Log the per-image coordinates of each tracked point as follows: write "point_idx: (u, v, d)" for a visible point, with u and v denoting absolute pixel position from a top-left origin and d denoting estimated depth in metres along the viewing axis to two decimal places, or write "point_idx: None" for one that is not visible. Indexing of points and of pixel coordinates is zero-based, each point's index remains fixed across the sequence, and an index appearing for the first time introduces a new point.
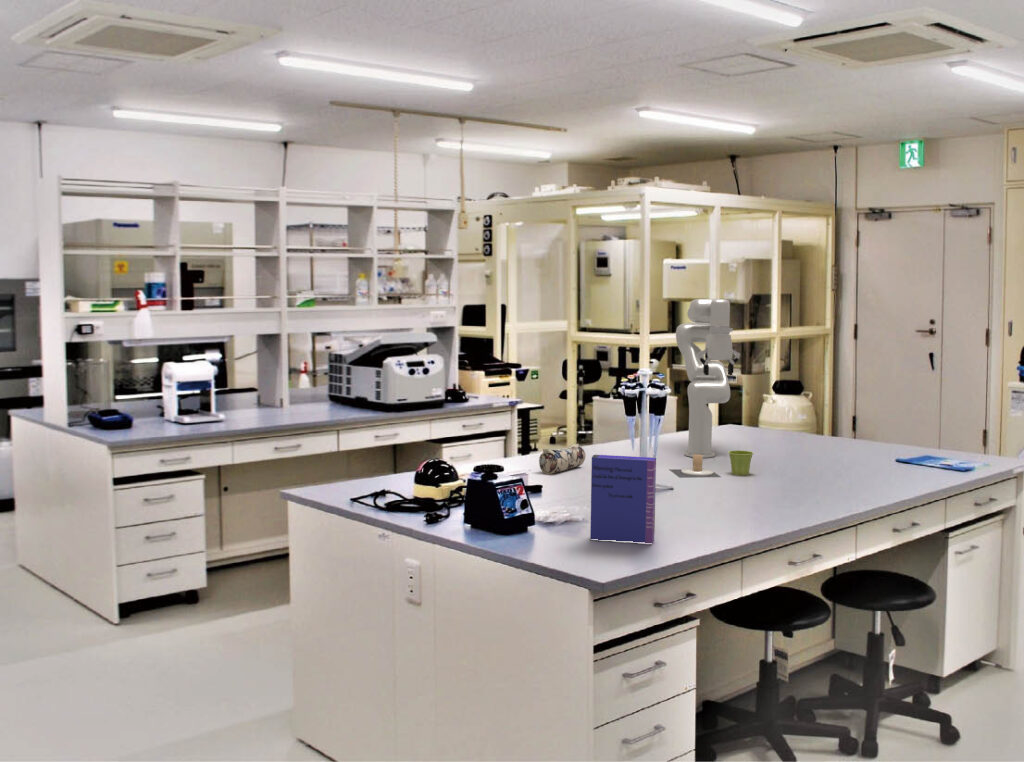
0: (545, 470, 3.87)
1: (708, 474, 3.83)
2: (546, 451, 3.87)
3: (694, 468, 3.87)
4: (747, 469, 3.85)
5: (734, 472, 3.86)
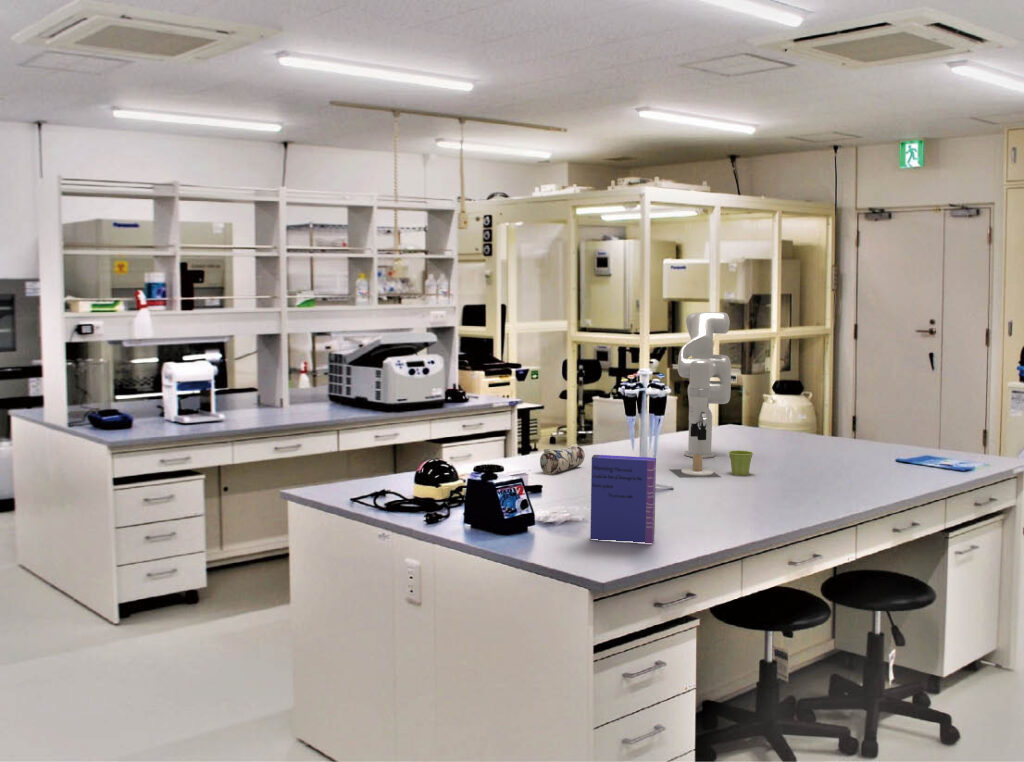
0: (546, 470, 3.86)
1: (708, 474, 3.83)
2: (547, 451, 3.86)
3: (694, 468, 3.87)
4: (747, 469, 3.85)
5: (734, 472, 3.86)
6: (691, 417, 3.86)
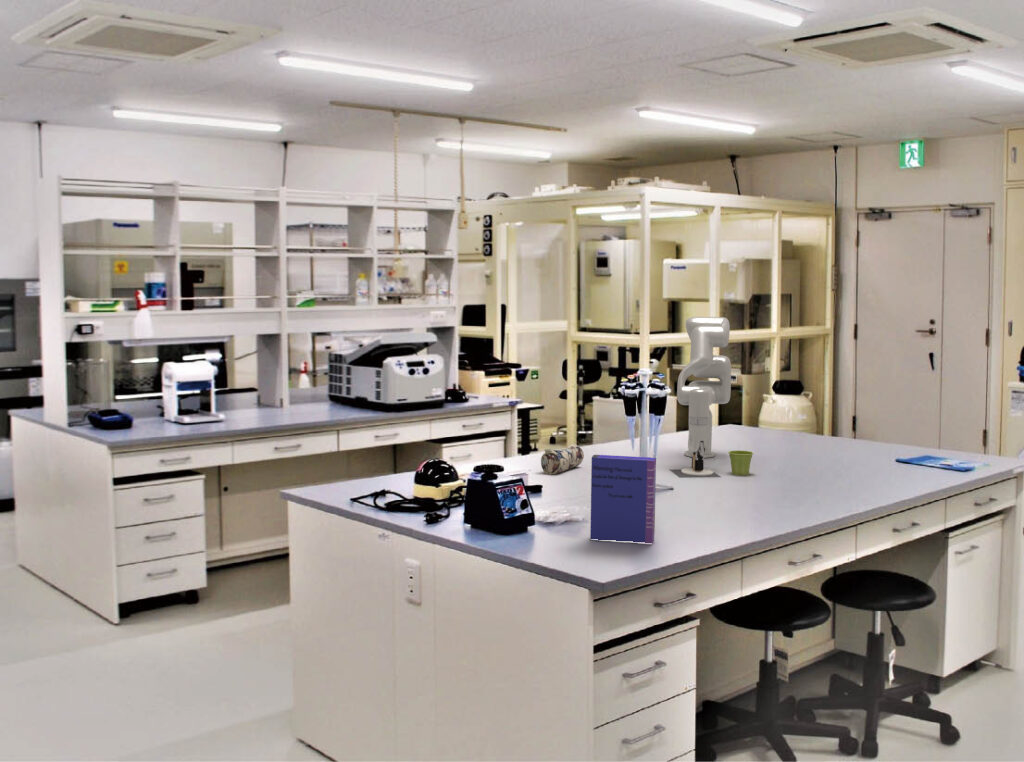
0: (547, 470, 3.86)
1: (708, 474, 3.83)
2: (548, 451, 3.86)
3: (694, 468, 3.87)
4: (747, 469, 3.85)
5: (734, 472, 3.86)
6: (690, 445, 3.87)
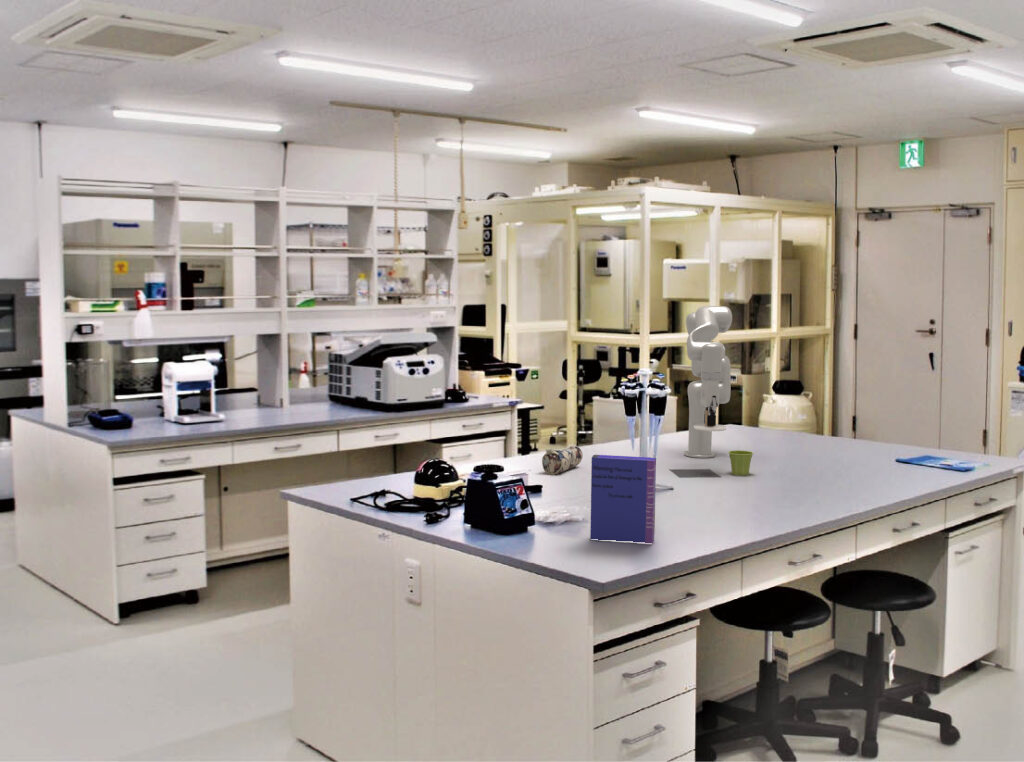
0: (549, 471, 3.86)
1: (720, 429, 3.82)
2: (550, 452, 3.86)
3: (706, 423, 3.85)
4: (747, 469, 3.85)
5: (734, 472, 3.86)
6: (703, 401, 3.85)
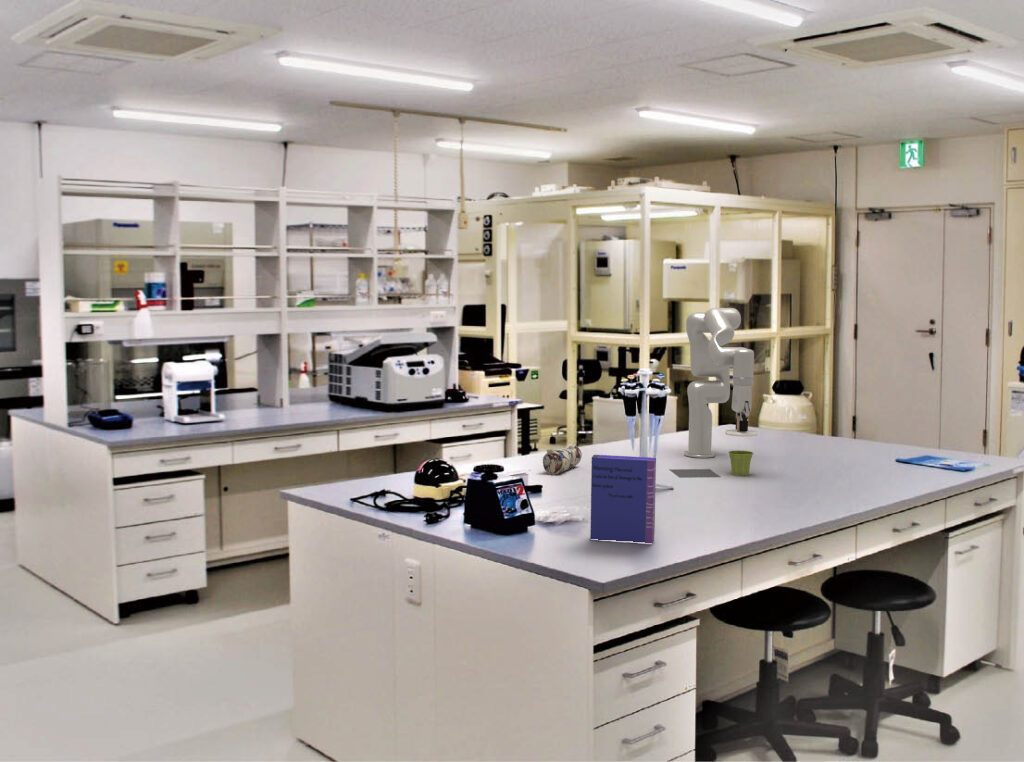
0: (550, 471, 3.85)
1: (753, 434, 3.81)
2: (550, 452, 3.85)
3: (738, 429, 3.85)
4: (747, 469, 3.85)
5: (734, 472, 3.86)
6: (735, 406, 3.85)
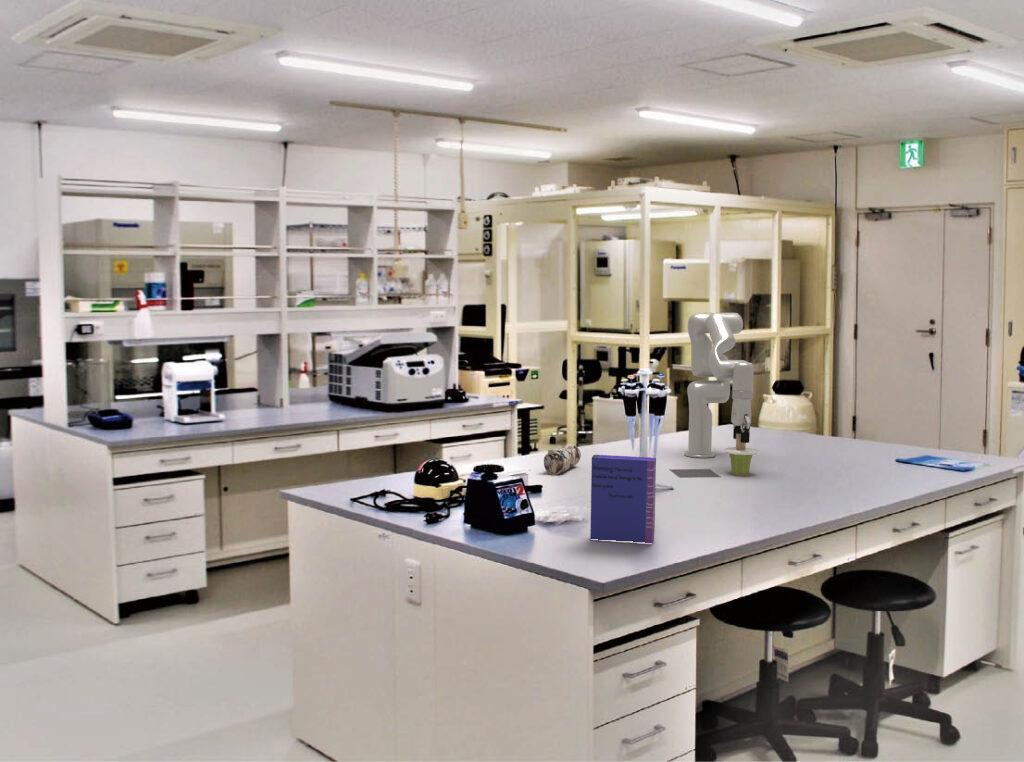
0: (551, 471, 3.85)
1: (752, 453, 3.82)
2: (551, 452, 3.85)
3: (737, 447, 3.86)
4: (747, 469, 3.85)
5: (734, 472, 3.86)
6: (734, 419, 3.86)
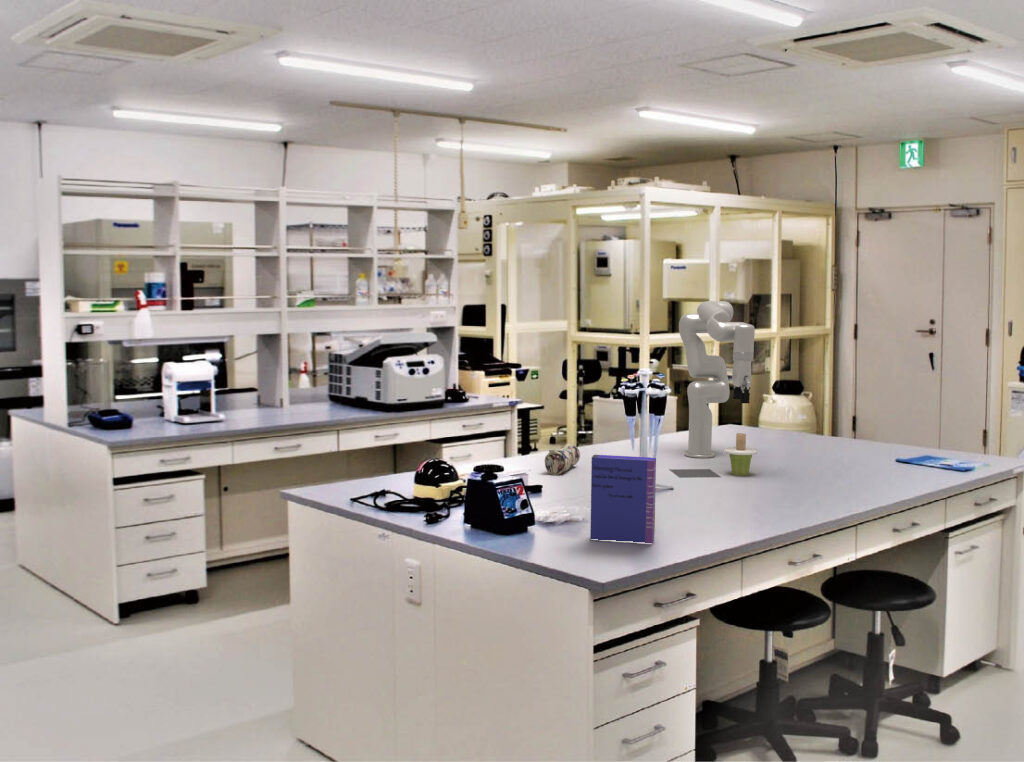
0: (552, 471, 3.85)
1: (752, 453, 3.82)
2: (552, 452, 3.85)
3: (737, 447, 3.86)
4: (747, 469, 3.85)
5: (734, 472, 3.86)
6: (734, 380, 3.90)
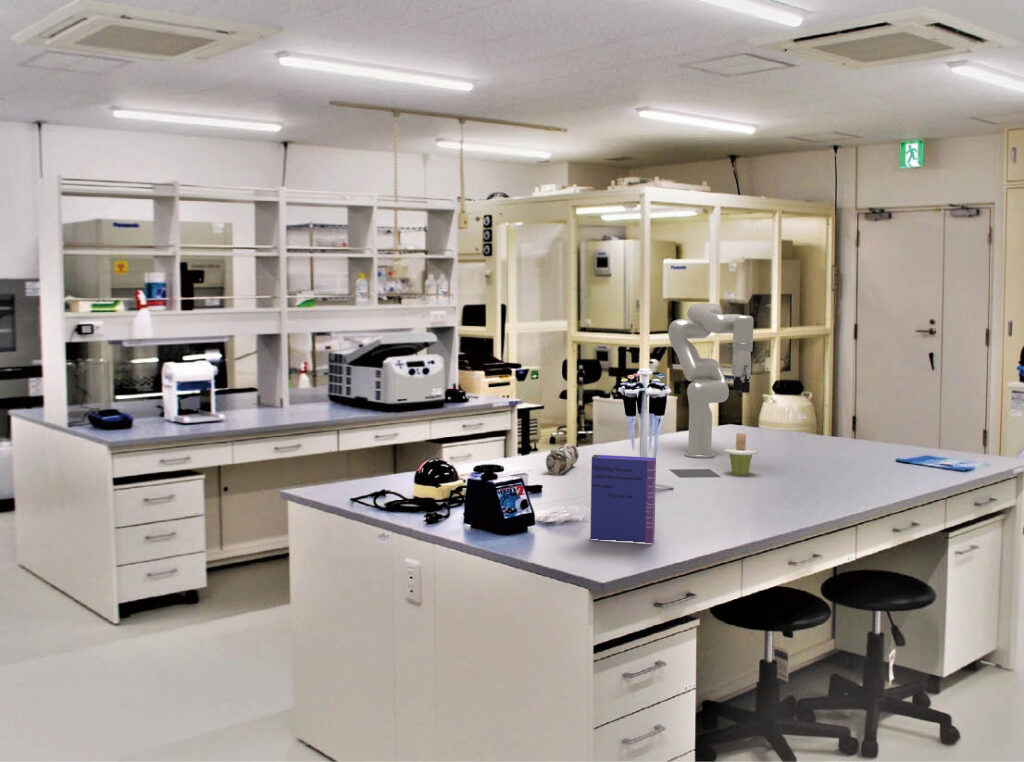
0: (554, 471, 3.85)
1: (752, 453, 3.82)
2: (554, 452, 3.85)
3: (737, 447, 3.86)
4: (747, 469, 3.85)
5: (734, 472, 3.86)
6: (734, 371, 3.98)
